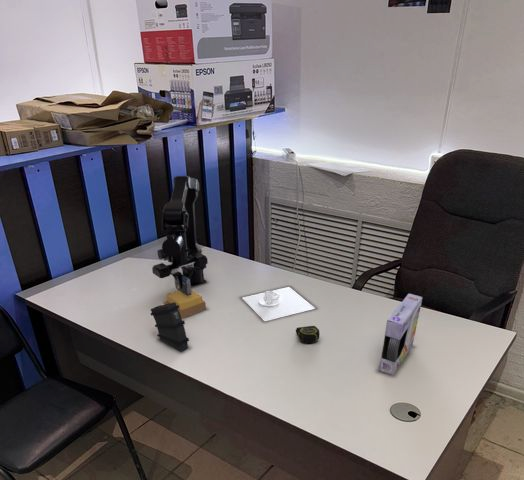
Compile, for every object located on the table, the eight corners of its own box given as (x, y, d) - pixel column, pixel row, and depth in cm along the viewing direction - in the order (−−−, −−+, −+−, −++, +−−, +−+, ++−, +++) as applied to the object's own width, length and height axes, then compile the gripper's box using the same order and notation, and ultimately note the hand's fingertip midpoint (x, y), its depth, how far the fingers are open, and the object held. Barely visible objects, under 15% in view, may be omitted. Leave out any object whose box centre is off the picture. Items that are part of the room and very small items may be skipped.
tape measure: (315, 333, 161) (316, 323, 159) (321, 344, 155) (322, 334, 153) (295, 335, 160) (295, 325, 158) (300, 346, 154) (300, 336, 152)
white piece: (276, 295, 185) (276, 285, 182) (286, 304, 178) (286, 293, 176) (254, 300, 181) (254, 290, 179) (264, 309, 175) (263, 299, 173)
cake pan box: (393, 378, 139) (401, 324, 130) (376, 373, 142) (383, 319, 132) (414, 347, 153) (423, 295, 143) (398, 342, 155) (406, 291, 146)
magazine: (186, 351, 150) (167, 305, 146) (164, 353, 160) (145, 310, 156) (195, 346, 152) (177, 301, 149) (173, 348, 162) (155, 306, 159)
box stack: (191, 299, 183) (189, 286, 180) (206, 309, 176) (204, 295, 173) (165, 309, 177) (163, 295, 174) (179, 319, 171) (177, 305, 168)
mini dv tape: (175, 288, 175) (173, 272, 172) (179, 286, 176) (177, 271, 173) (187, 296, 170) (186, 280, 167) (191, 294, 171) (189, 278, 167)
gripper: (189, 232, 174) (193, 272, 182) (141, 245, 164) (148, 287, 173) (206, 240, 166) (210, 282, 175) (157, 254, 157) (163, 298, 165)
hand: (183, 287), depth 172 cm, fingers closed on mini dv tape, 1 cm apart
